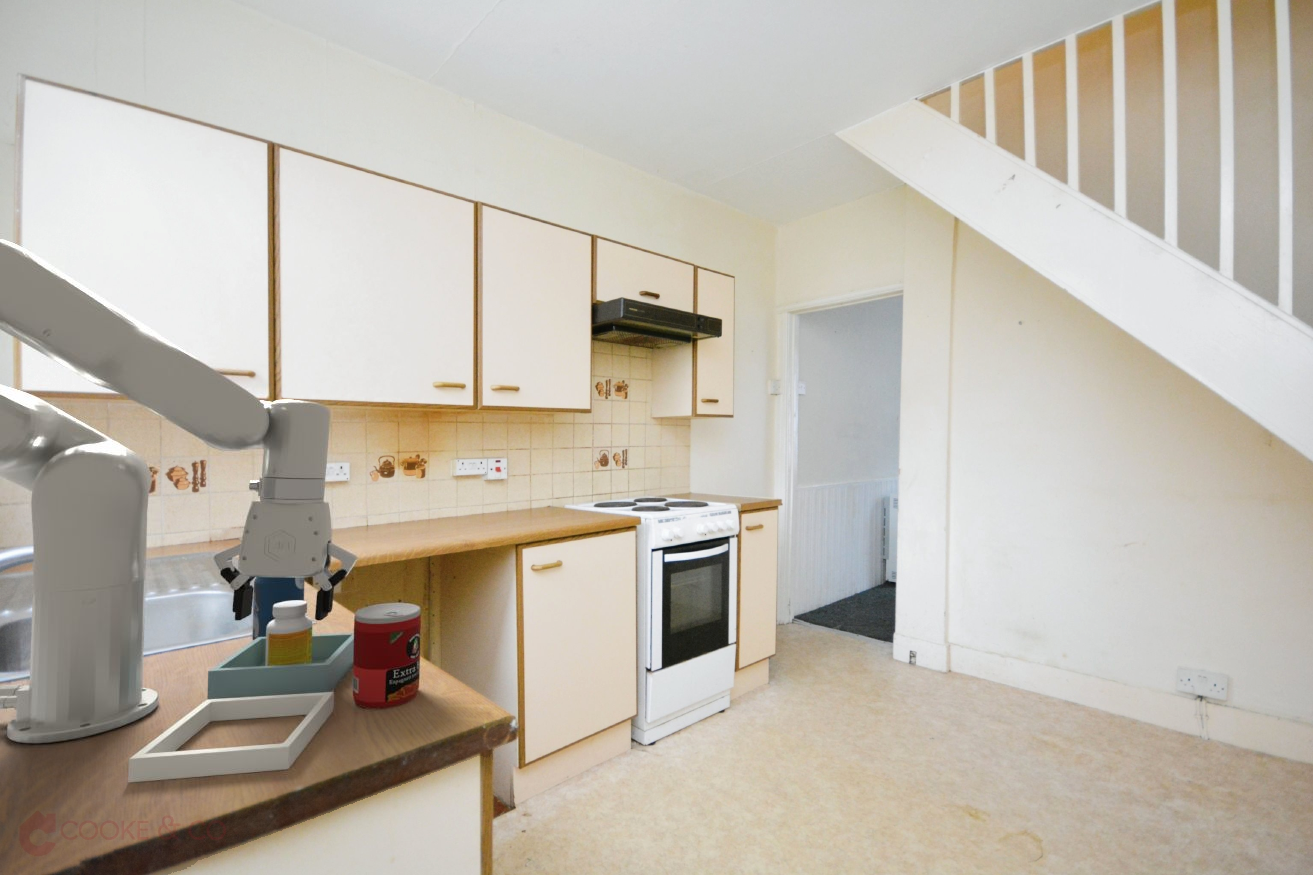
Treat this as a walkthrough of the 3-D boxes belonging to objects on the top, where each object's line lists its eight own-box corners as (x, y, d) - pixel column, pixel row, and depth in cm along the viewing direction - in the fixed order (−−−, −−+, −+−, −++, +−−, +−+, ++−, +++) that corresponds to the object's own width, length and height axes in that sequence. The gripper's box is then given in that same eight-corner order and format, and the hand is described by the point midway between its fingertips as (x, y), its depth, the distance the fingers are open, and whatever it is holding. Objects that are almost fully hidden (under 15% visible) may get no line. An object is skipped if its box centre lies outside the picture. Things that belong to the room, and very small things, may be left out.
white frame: (128, 782, 56) (129, 758, 56) (206, 718, 70) (206, 699, 70) (288, 769, 59) (288, 746, 59) (333, 710, 72) (334, 691, 72)
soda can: (312, 637, 99) (314, 565, 100) (280, 651, 93) (283, 573, 93) (275, 635, 100) (277, 563, 101) (241, 648, 94) (243, 571, 94)
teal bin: (207, 703, 73) (208, 670, 74) (257, 664, 87) (258, 636, 87) (328, 696, 76) (328, 664, 76) (358, 659, 89) (359, 632, 90)
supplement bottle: (317, 675, 82) (319, 603, 82) (272, 686, 78) (274, 611, 78) (303, 665, 85) (305, 596, 85) (259, 675, 81) (261, 603, 81)
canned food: (395, 712, 72) (397, 620, 72) (337, 706, 73) (339, 615, 74) (431, 687, 79) (433, 604, 80) (378, 682, 81) (380, 600, 81)
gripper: (207, 489, 76) (195, 625, 76) (353, 495, 80) (343, 625, 79) (235, 487, 84) (225, 611, 83) (368, 492, 87) (359, 611, 86)
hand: (282, 617), depth 81 cm, fingers open, 9 cm apart
